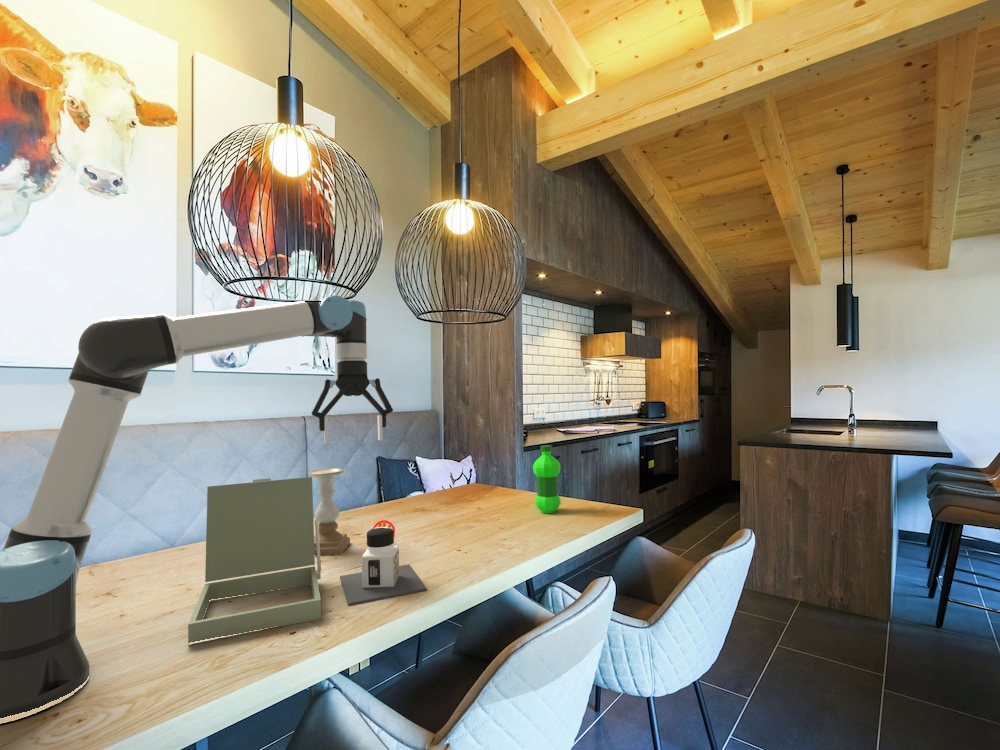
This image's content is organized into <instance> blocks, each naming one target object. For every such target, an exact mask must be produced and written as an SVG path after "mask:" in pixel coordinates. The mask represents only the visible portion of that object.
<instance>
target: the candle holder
mask: <svg viewBox="0 0 1000 750" xmlns="http://www.w3.org/2000/svg"><path fill="white" fill-rule="evenodd" d="M344 471H345V470H344V468H335V467H333V468H332V467H330V468H320V469H314V470H311V471H309V472H308V476H309V477H312V478H317V481H318V482H319V484H320V487H319V489H318V491H317V494H318V495H319V498H320V502H319V505H318V506H317V508H316V510H315V512H314V514H313V518H314V521H315V520H316V519H317V520H318V523H319V541H320V555H321V556H338V554H340V555H341V553H342V552H343V553H344V551H345V550H346V549H347V548H348V547H349V546H348V545H350V544H351V538H350V536H348V535H347V533H341V532H339V531H337V529H338V527H339V525H338V522H336V521H337V520H339V517H340V510H339V508H338V506H337V505H336V503H335V502H334V499H333V498H334V495H335V493H336V488H334V486H333V484H334V481H335V480H336V477H337V476H338V475H342V474H344ZM347 546H348V547H347ZM346 547H347V548H346ZM343 553H342V554H343ZM335 554H337V555H335ZM314 555H317V548H316V534H314Z"/></svg>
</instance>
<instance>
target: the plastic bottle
mask: <svg viewBox="0 0 1000 750" xmlns="http://www.w3.org/2000/svg"><path fill="white" fill-rule="evenodd" d="M552 451H553V446H552V445H551V444H550V445H548V444H547V445H546V444H545V445H540V452H541V456H540V457H538V458H537V459H536V460H535V461H534V463H533V465H532V470H533V474H534V475H535V476H536V489H537V490H536V496H535V499H534V505H535V507H536V508H537V509H538V511H540V513H542V514H546V513H548V514H554V513H555V512H556V511H557V510H558V509H559V508H560V506H561V503H562V501H561V497H560V496H559V488H558V486H559V484H558V481H559V480H558V476H559V474H560V473H561V463H560V461H558V460H557V458H555V457H554V456H553V455H551V453H552Z"/></svg>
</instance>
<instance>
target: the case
mask: <svg viewBox="0 0 1000 750" xmlns="http://www.w3.org/2000/svg"><path fill="white" fill-rule="evenodd" d="M314 524H315V525H314V527H315V529H314V530H315V535H316V548H317V556H316V561H317V562H316V563H317V564H316V565H317V567H315V565H314V566H306V567H300V568H294V569H288V570H281V571H275V572H269V573H266V574H265V573H263V574H257V575H250V576H244V577H238V578H232V579H227V580H226V579H225V580H219V581H216V582H215V581H213V582H210V583H208V582H207V583H204V586H203V587H202V590H201V593H200V595H199V597H198V600H197V602H196V605H195V607H194V609H193V611H192V615H191V616H190V619H189V621H188V623H187V630H188V631H187V632H188V633H187V640H188V641H187V642H188V643H190V642H195V641H200V640H205V639H210V638H215V637H221V636H228V635H233V634H239V633H244V632H249V631H254V630H260V629H265V628H271V627H275V626H276V627H277V626H283V627H285V626H284V625H288V626H290V625H289V624H293V625H297V624H301V622H302V623H306V622H312V621H316V620H317V621H318V620H322V604H321V603H322V599H321V594H320V587H319V582H318V580H321V579H322V578H321V576H322V575H321V571H322V564H321V563H322V561H321V560H322V559H321V556H320V541H319V522H318V520H317V519H316V520H315V519H314ZM316 569H317V570H316ZM310 584H311V585H310ZM304 585H305V586H311V595H312V594H313V595H312V599H307V600H302V601H297V602H291V603H284V604H281V605H275V606H269V607H264V608H258V609H253V610H248V611H243V612H236V613H232V614H231V613H230V614H226V615H221V616H215V617H210V618H209V617H208V618H204V619H203V616H204V614H205V615H206V613H205V611H206V608H207V605H208V603H209V604H210V602H209V600H211V599H218V598H225V597H232V596H238V595H245V594H252V593H259V592H265V593H267V592H266V591H270V592H272V591H271V590H276V591H279V590H278V589H282V590H285V589H284V588H288V589H292V587H293V588H298V587H297V586H299V587H303V586H304ZM259 594H260V593H259ZM208 606H209V605H208ZM207 609H208V608H207ZM206 612H207V611H206ZM204 617H205V616H204ZM202 619H203V620H202ZM296 623H297V624H296ZM188 643H187V644H188Z"/></svg>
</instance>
